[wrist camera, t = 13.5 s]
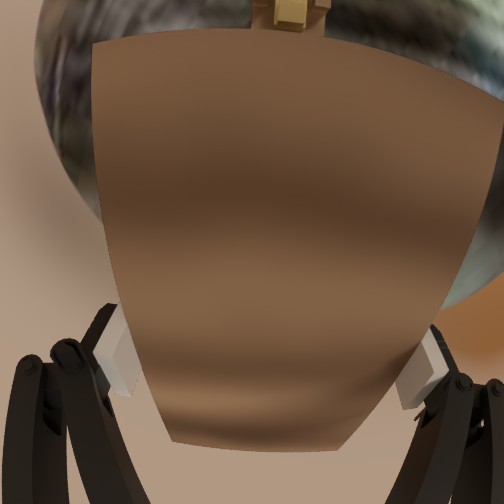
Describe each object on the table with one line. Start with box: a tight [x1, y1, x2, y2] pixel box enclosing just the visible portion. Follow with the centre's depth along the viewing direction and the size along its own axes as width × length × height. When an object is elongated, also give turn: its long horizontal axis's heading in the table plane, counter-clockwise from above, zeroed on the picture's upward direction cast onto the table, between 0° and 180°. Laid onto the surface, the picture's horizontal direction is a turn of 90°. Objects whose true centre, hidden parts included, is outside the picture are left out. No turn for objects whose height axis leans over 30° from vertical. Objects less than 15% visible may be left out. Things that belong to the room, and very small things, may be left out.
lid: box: [91, 28, 504, 452], centre depth 12 cm, size 21×11×4 cm, turn 176°
